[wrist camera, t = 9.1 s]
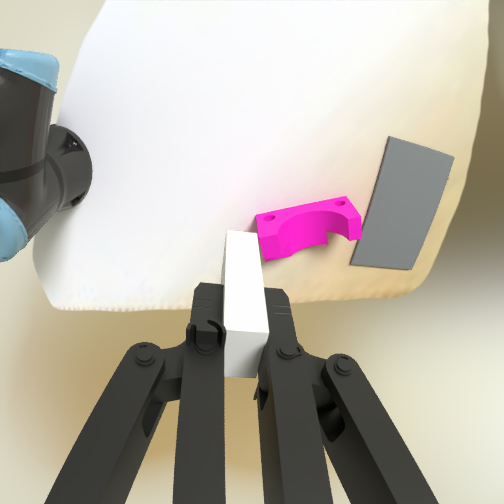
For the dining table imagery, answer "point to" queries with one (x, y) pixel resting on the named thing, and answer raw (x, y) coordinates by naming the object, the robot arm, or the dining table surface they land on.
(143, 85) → the dining table surface
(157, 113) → the dining table surface
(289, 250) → the magenta bearing cap
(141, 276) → the dining table surface
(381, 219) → the pad
